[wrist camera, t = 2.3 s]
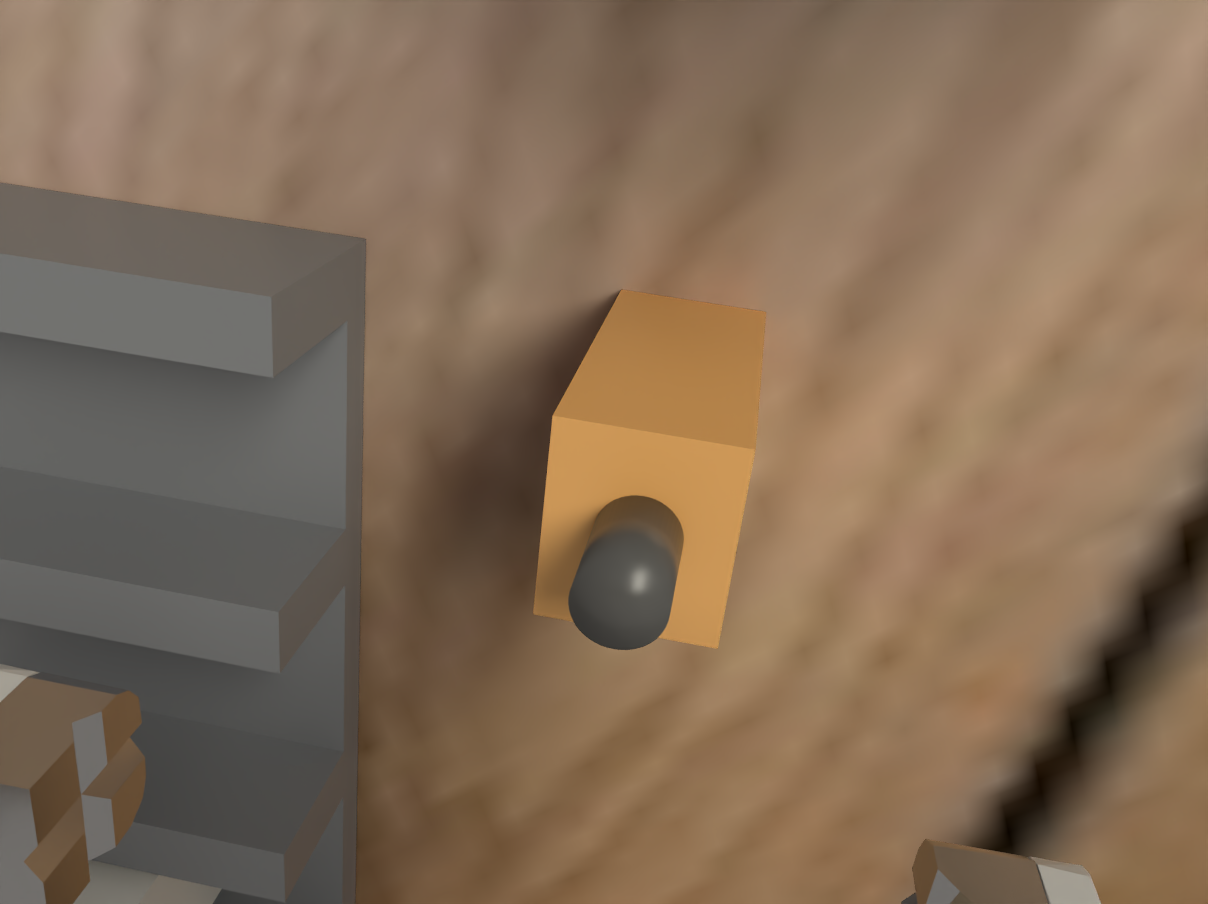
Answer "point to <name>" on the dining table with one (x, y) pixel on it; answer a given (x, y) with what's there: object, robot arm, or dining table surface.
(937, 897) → the robot arm
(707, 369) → the orange plug
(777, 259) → the dining table surface
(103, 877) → the white plug
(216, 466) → the rack
